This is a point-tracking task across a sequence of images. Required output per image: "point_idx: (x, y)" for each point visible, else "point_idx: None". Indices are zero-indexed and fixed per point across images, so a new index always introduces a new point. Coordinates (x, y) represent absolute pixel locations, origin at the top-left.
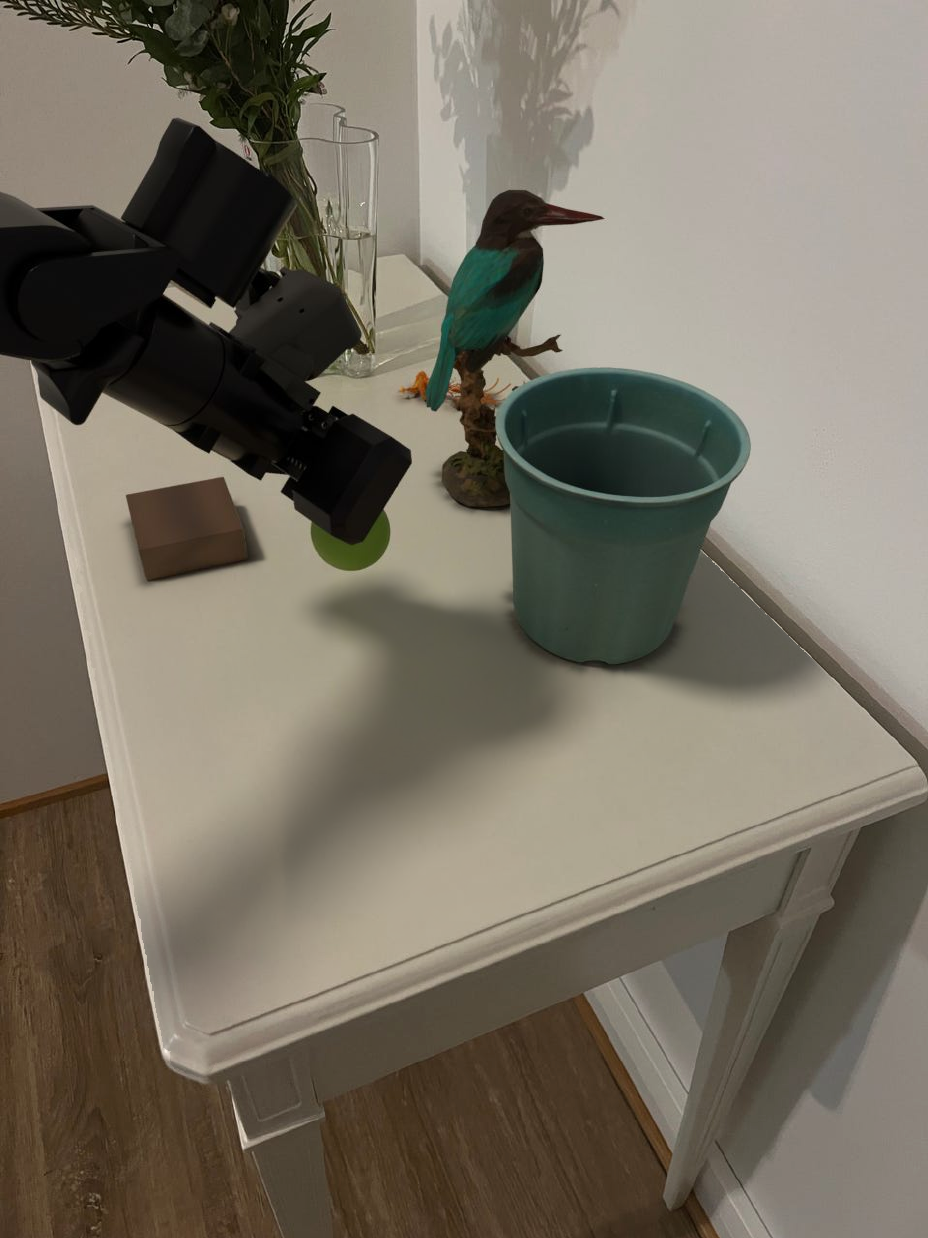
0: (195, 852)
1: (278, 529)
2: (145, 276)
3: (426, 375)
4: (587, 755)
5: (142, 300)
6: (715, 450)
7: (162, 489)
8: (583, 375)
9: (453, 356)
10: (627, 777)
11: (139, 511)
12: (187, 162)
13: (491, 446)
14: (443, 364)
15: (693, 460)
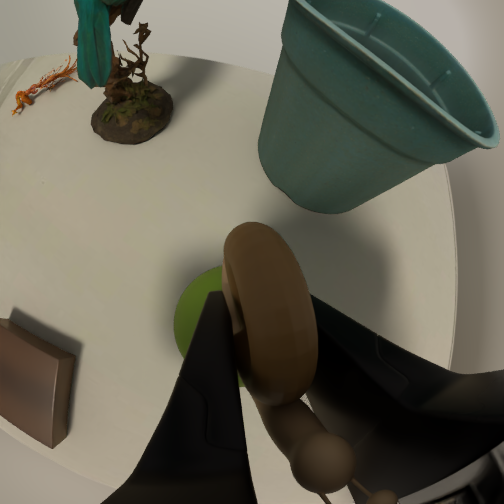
0: (347, 488)
1: (53, 303)
2: None
3: (22, 91)
4: (411, 259)
5: None
6: (387, 33)
7: None
8: None
9: (106, 17)
10: (426, 252)
11: (4, 411)
12: None
13: (132, 85)
14: (96, 32)
15: (365, 38)
